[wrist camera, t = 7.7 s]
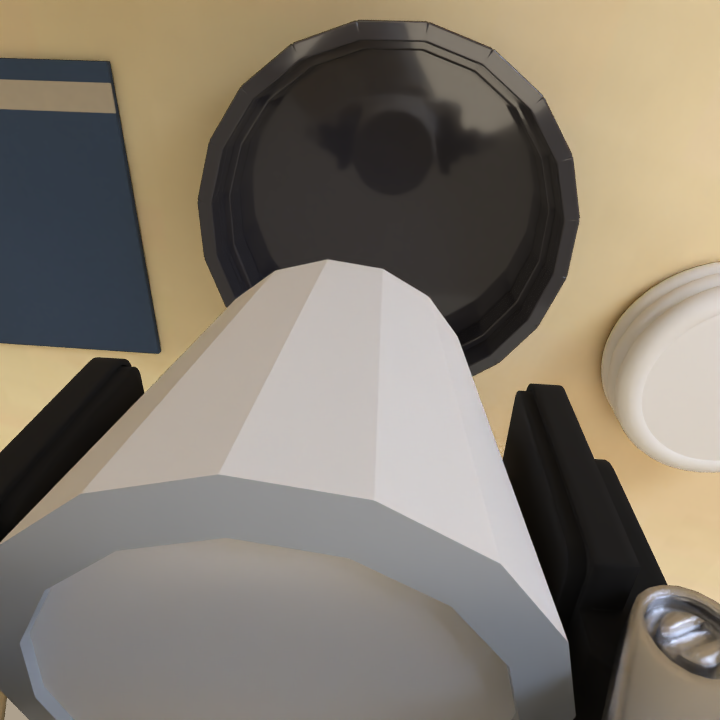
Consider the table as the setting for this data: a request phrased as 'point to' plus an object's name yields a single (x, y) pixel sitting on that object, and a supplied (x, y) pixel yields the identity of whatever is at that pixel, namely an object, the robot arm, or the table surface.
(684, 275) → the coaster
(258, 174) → the pan
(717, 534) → the table surface
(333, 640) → the white cup
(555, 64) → the table surface
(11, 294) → the cloth
